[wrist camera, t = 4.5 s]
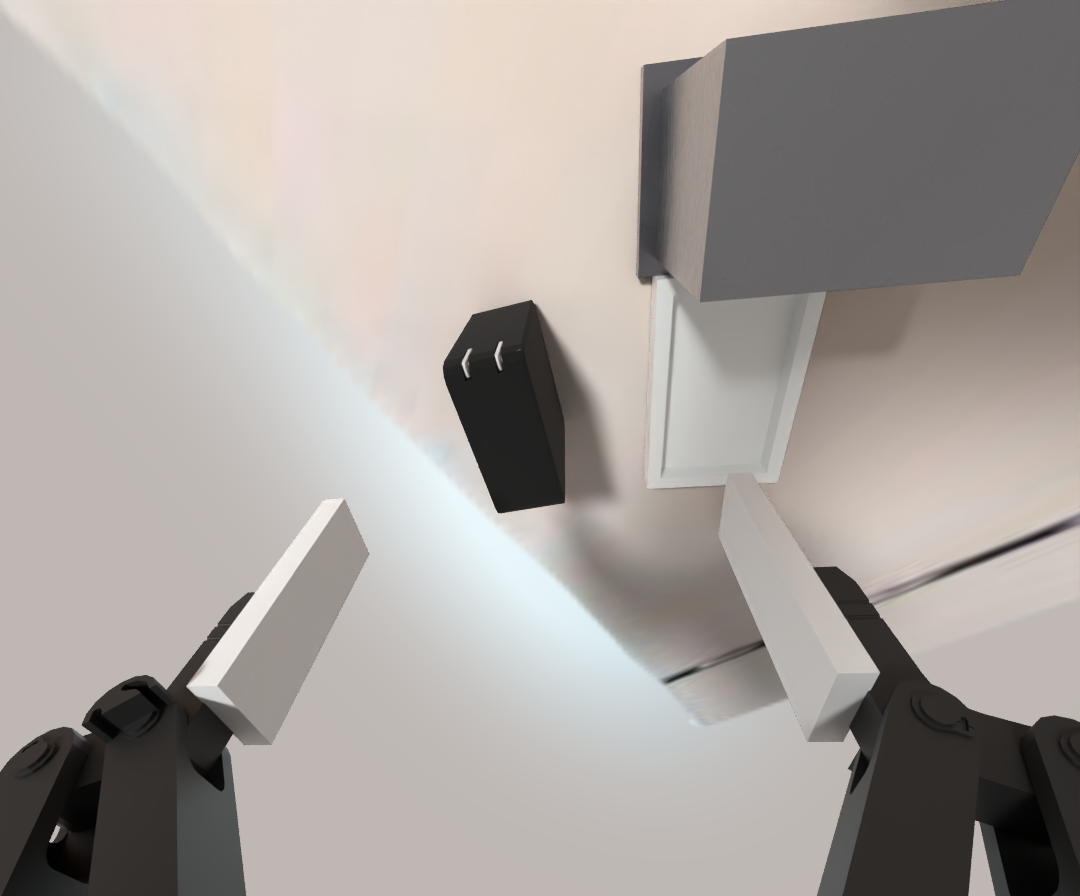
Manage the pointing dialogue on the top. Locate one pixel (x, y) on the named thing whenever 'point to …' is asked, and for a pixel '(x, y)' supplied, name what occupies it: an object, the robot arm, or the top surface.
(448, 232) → the top surface
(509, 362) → the electronic device
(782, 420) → the tray
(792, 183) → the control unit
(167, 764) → the robot arm
